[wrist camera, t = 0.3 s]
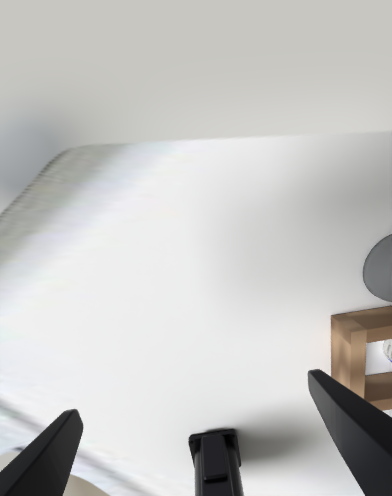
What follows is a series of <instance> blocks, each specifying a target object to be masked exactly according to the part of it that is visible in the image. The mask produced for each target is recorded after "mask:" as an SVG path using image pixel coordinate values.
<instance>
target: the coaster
mask: <svg viewBox="0 0 392 496" xmlns="http://www.w3.org/2000/svg"><path fill="white" fill-rule="evenodd" d="M363 279H364V282H365V285H366V287H367V289H368V290H369V291H370V292H371V293H372V294H374V295H375V296H377V297H379V298H381V299H383V300H386V301H389V302H392V234H391V235H389V236H387V237H386V238H384V239H382V240H381V241H380V242H379V243H378V244H377V245H376V246H375V247H374V248H373V249H372V250H371V252H370V253H369V255H368V257H367V258H366V261H365V264H364V268H363Z"/></svg>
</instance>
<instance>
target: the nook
mask: <svg viewBox="0 0 392 496" xmlns="http://www.w3.org/2000/svg"><path fill="white" fill-rule="evenodd" d="M388 339H392V306H388V307H382V308H375V309H369V310H363V311H357V312H350V313H344V314H338V315H332V316H331V377H332V378H334V379H335V380H337V381H338V382H340V383H341V384H342V385H344V386H345V387H347V388H348V389H350V390H351V391H353V392H354V393H356V394H357V395H359V396H360V397H362V398H363V399H365V400H366V401H368V402H369V403H371V404H372V405H374V406H375V407H377V408H378V409H380V410H381V411H383V410H390V409H392V372H389V373H382V374H376V375H369V376H365V362H366V343H369V342H376V341H382V340H388Z"/></svg>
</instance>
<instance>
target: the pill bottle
mask: <svg viewBox="0 0 392 496" xmlns="http://www.w3.org/2000/svg"><path fill="white" fill-rule="evenodd" d="M383 352H384V354H385V356H386V357H387V358H388V359H389V360H390V361H391V362H392V339H388V340H386V341H385V343H384V346H383Z"/></svg>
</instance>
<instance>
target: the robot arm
mask: <svg viewBox="0 0 392 496" xmlns="http://www.w3.org/2000/svg"><path fill="white" fill-rule="evenodd" d="M308 386H309V391H310V394H311V396H312V398H313V400H314V402H315V404H316V406H317V409H318V411H319V413H320V415H321V417H322V419H323V421H324V423H325V425H326V427H327V429H328V431H329V433H330V435H331V437H332V439H333V441H334V443H335V445H336V447H337V448H338V450H339V452H340V454H341V456H342V457H343V459H344V461H345V462H346V464H347V466H348V467H349V469H350V471H351V472H352V474H353V476H354V477H355V479H356V481H357V483H358V484H359V486H360V488H361V489H362V491H363V493H364V494H365V496H392V417H390V416H389V415H387V414H386V413H384V412H383V411H381V410H380V409H378V408H377V407H375V406H374V405H372V404H371V403H369V402H368V401H366V400H365V399H363V398H362V397H360V396H359V395H357V394H356V393H354V392H353V391H351V390H350V389H348V388H347V387H345V386H344V385H342V384H341V383H340V382H338V381H337V380H335V379H334V378H332V377H331V376H329V375H328V374H326V373H325V372H323V371H322V370H320V369H315V370H309V371H308ZM82 433H83V422H82V420H81V417H80V415H79V412H78V410H77V409H71V410H66V411H64V412H63V413H62V414H61V415H60V416H59V417H58V418H57V419H56V420H54V421H53V422H52V423H51V424H50V425H49V426H48V427H47V428H46V429H45V430H44V431H43V432H42V433H41V434H40V435H39V436H38V437H37V438H36V439H34V440H33V441H32V442H31V443H30V444H29V445H28V446H27V447H26V448H25V449H24V450H23V451H22V452H21V453H20V454H19V455H18V456H17V457H16V458H15V459H13V460H12V461H11V462H10V463H9V464H8V465H7V466H6V467H5V468H4V469H3V470H2V471H1V472H0V496H63V493H64V490H65V487H66V484H67V481H68V478H69V475H70V472H71V469H72V465H73V462H74V459H75V456H76V452H77V449H78V446H79V443H80V439H81V436H82ZM189 447H190V451H191V455H192V459H193V463H194V468H195V496H244V493H243V487H242V482H241V476H240V471H239V467H240V466H241V460H240V454H239V448H238V442H237V435H236V431H235V430H228V431H222V432H215V433H208V434H202V435H195V436H190V437H189Z"/></svg>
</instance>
